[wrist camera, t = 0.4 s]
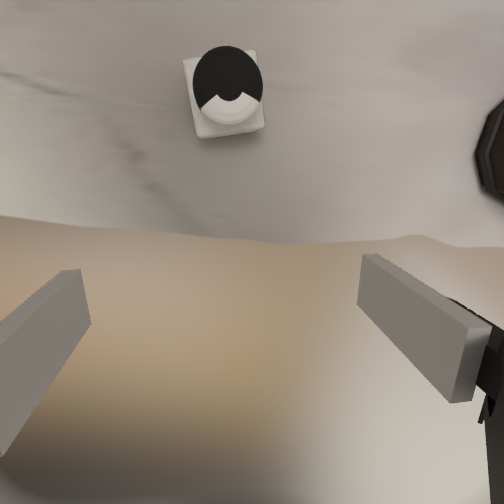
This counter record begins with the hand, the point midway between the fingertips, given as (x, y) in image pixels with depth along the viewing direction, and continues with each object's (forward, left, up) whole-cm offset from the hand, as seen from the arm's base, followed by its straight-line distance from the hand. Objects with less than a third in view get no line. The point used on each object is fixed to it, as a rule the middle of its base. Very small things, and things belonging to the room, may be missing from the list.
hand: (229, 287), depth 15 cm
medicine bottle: (-11, +1, -28) cm, 30 cm away
